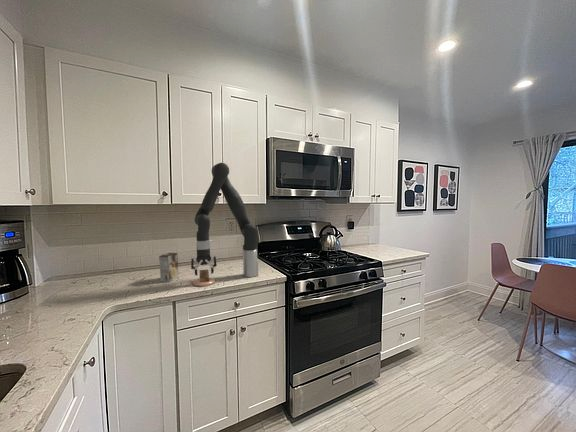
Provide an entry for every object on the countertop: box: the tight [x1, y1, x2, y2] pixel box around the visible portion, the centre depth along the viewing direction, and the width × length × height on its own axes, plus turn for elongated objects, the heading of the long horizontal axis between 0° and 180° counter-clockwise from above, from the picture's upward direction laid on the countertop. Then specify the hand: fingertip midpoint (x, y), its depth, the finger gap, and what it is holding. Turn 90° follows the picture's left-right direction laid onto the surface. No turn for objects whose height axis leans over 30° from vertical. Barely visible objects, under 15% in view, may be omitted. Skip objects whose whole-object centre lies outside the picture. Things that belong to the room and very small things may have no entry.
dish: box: [193, 277, 216, 288], centre depth 152 cm, size 12×12×2 cm
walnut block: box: [199, 269, 210, 282], centre depth 152 cm, size 5×5×6 cm
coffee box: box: [158, 252, 179, 283], centre depth 159 cm, size 9×6×16 cm
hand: (204, 274), depth 152 cm, fingers open, 8 cm apart
